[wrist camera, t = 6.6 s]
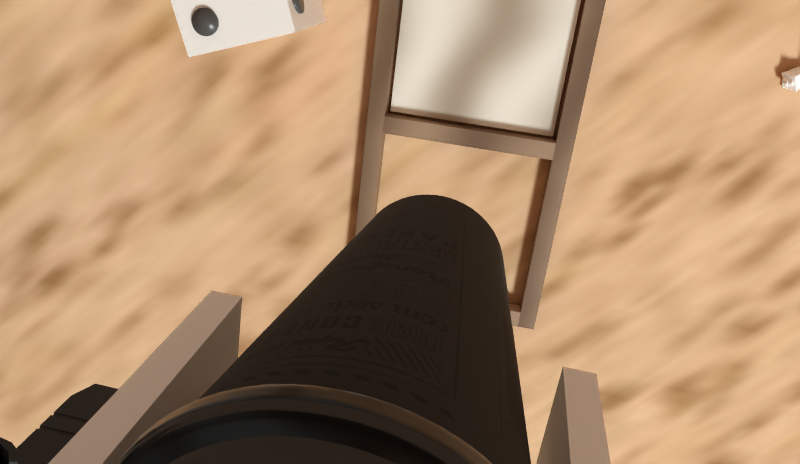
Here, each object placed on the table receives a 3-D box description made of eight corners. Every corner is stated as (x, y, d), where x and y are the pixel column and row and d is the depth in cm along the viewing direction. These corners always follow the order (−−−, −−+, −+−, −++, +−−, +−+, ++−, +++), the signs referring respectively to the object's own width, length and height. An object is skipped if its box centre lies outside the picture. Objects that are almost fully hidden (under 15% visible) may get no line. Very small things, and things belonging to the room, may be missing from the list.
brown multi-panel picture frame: (352, 288, 47) (348, 294, 46) (418, -338, 34) (415, -346, 34) (533, 321, 46) (533, 329, 45) (672, -316, 33) (676, -324, 32)
